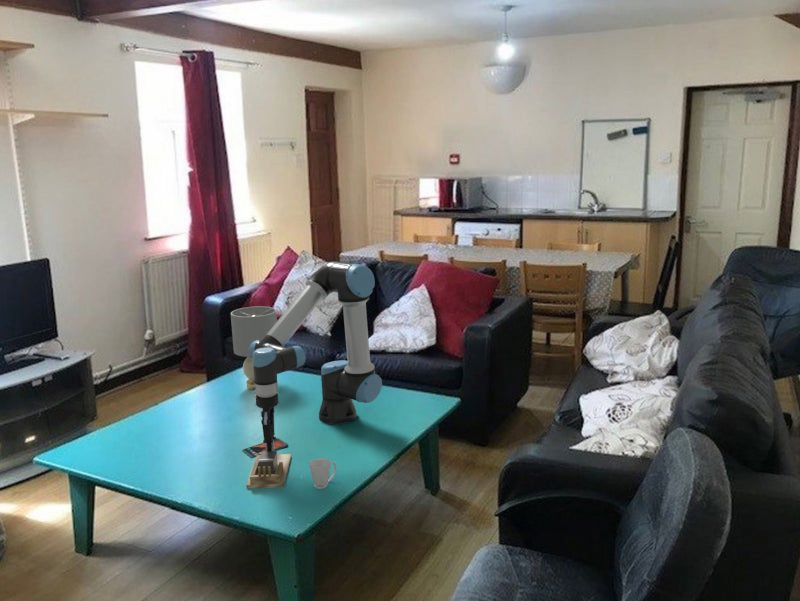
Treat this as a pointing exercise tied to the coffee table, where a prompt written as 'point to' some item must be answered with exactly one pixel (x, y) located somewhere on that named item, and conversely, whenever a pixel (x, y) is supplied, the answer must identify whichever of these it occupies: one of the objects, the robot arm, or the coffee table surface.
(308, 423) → the coffee table surface
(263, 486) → the board
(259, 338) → the lamp
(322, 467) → the cup
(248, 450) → the smartphone
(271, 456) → the plug
